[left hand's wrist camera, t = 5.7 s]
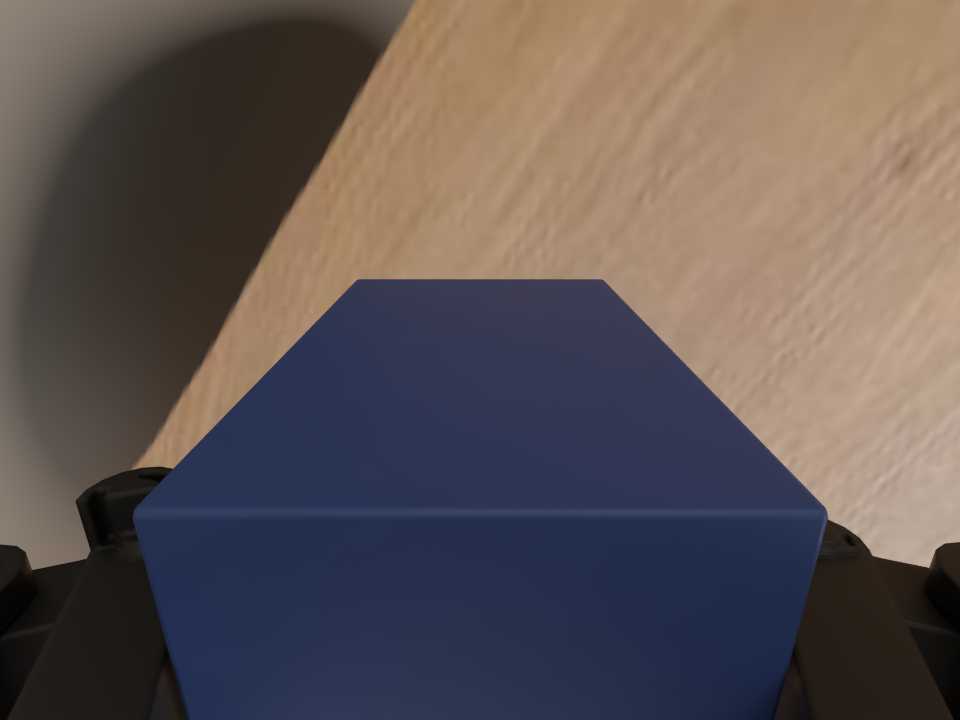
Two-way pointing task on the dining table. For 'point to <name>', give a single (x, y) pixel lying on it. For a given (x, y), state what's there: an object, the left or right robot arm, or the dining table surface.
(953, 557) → the left robot arm
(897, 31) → the dining table surface
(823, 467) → the dining table surface
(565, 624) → the box
